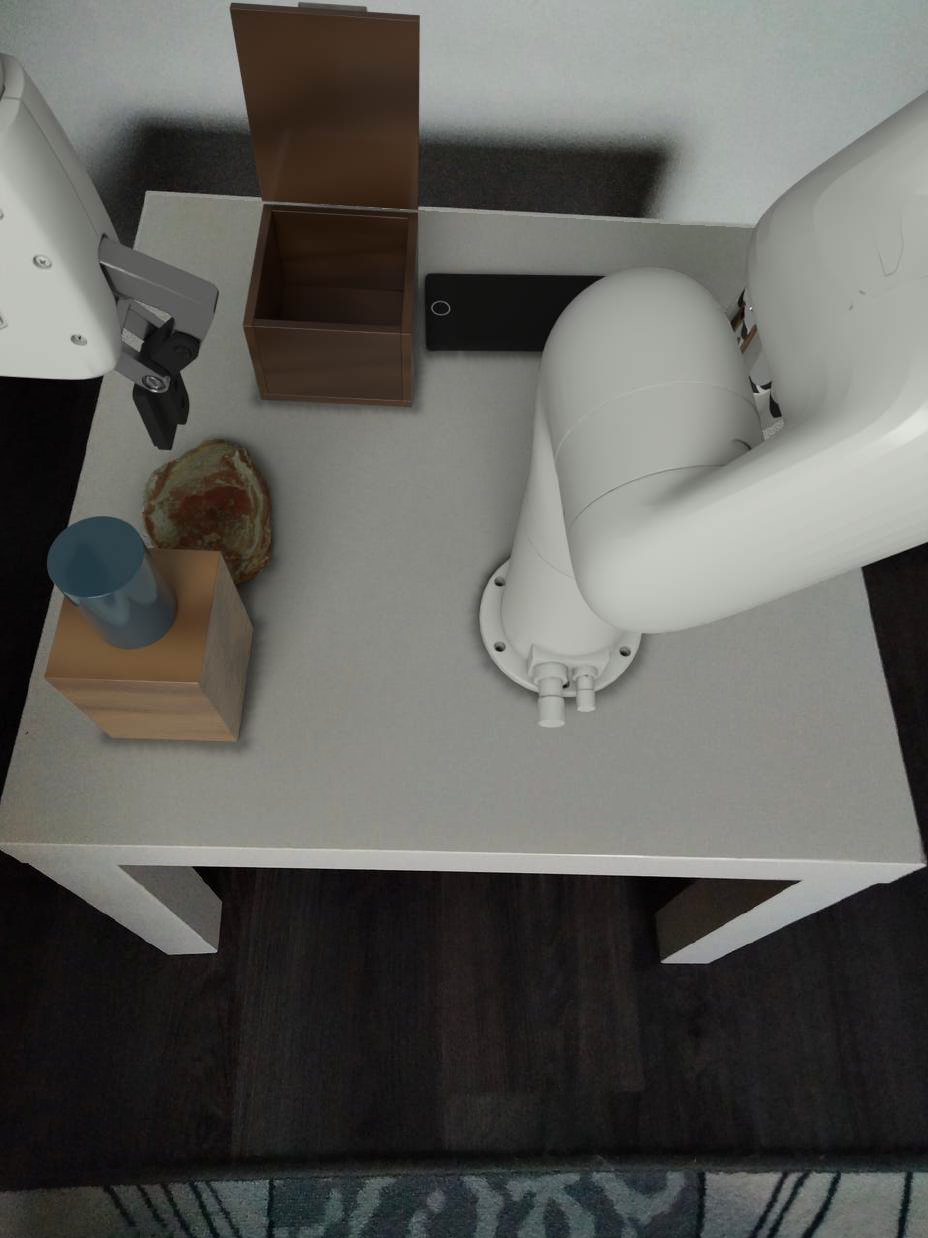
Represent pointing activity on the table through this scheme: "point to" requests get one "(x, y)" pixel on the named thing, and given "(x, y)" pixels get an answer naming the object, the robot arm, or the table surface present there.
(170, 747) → the table surface
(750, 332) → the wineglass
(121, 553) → the blue glossy cylinder
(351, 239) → the wooden box
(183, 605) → the stand
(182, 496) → the stone
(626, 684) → the table surface
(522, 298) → the cell phone
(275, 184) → the lid
